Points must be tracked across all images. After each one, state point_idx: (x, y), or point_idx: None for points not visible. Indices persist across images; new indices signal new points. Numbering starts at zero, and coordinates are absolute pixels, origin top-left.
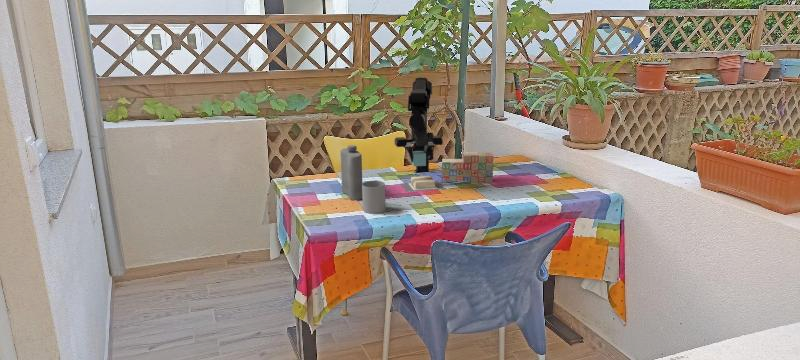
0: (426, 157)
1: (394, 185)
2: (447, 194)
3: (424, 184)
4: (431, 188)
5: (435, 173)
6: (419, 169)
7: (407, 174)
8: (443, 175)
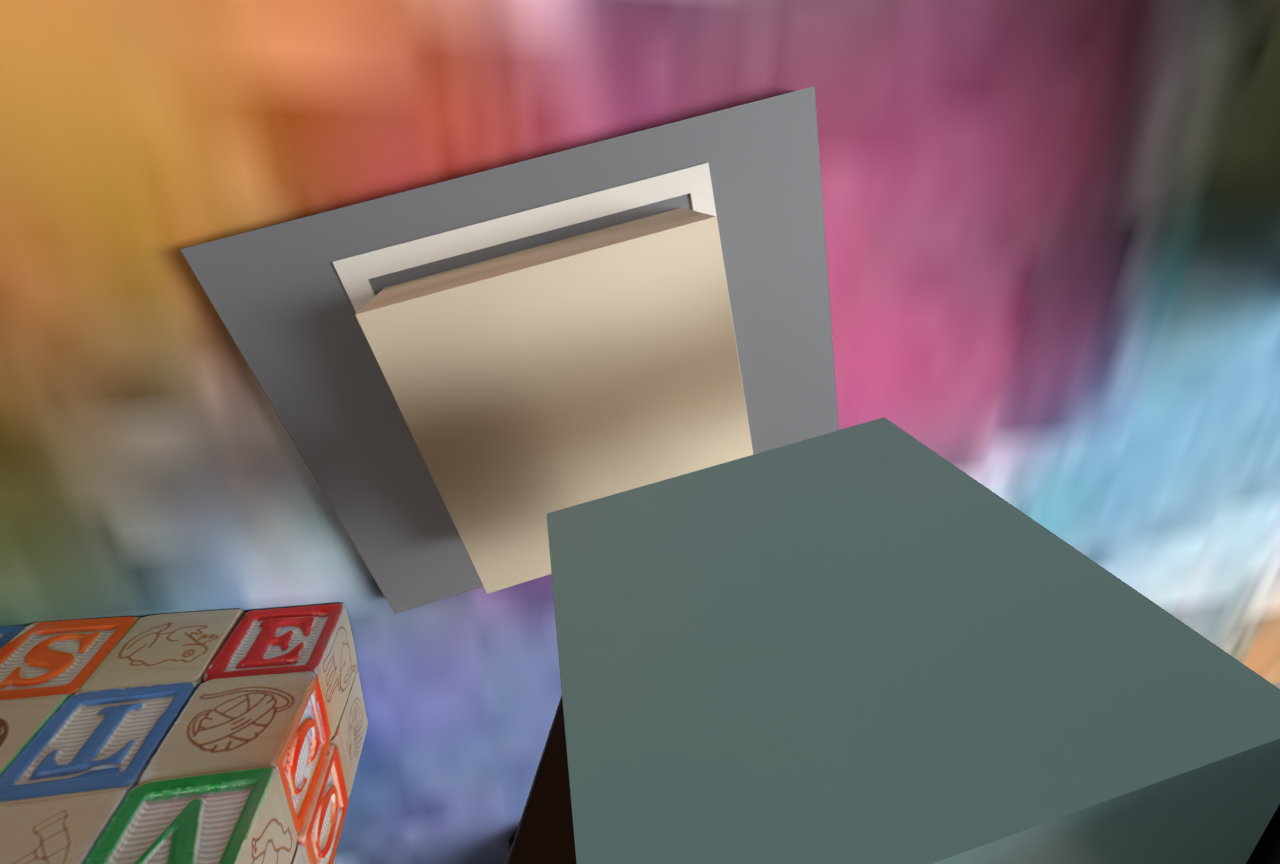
0: (545, 815)
1: None
2: (113, 36)
3: (551, 252)
4: (435, 253)
5: (465, 849)
6: None
7: None
8: (289, 680)
